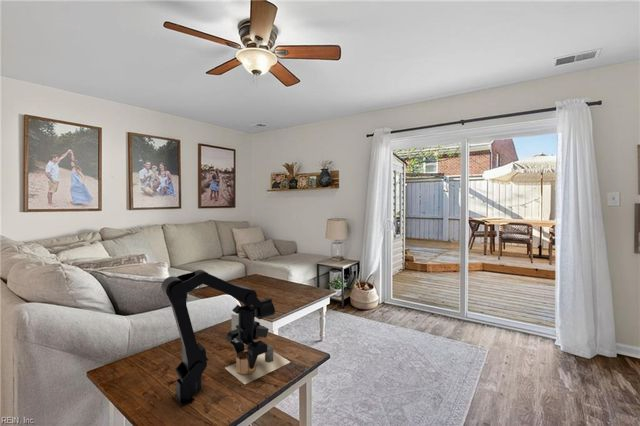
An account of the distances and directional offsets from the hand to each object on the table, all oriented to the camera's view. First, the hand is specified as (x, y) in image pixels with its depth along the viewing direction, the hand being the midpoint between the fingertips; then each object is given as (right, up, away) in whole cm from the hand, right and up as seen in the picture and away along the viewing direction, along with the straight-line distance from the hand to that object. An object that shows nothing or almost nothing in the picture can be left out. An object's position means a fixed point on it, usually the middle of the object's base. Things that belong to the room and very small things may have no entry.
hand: (246, 364), depth 108 cm
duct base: (+4, -3, +4) cm, 6 cm away
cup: (-10, -3, +30) cm, 31 cm away
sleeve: (0, -1, 0) cm, 1 cm away
